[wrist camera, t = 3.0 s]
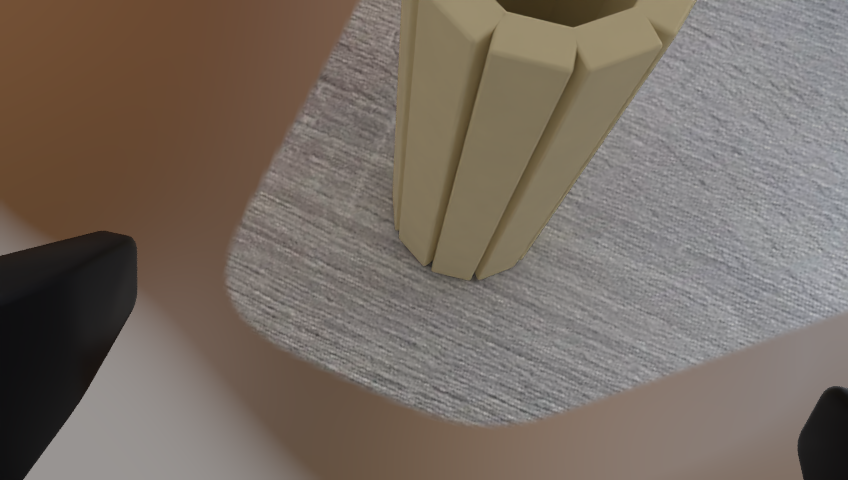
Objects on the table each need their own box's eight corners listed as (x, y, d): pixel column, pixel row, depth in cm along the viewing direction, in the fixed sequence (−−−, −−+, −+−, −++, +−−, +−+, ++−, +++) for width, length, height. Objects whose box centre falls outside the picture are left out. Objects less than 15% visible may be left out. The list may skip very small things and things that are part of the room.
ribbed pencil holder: (526, 295, 22) (692, 100, 10) (375, 258, 22) (370, 23, 11) (552, 161, 24) (724, -143, 12) (411, 126, 24) (442, -210, 12)
